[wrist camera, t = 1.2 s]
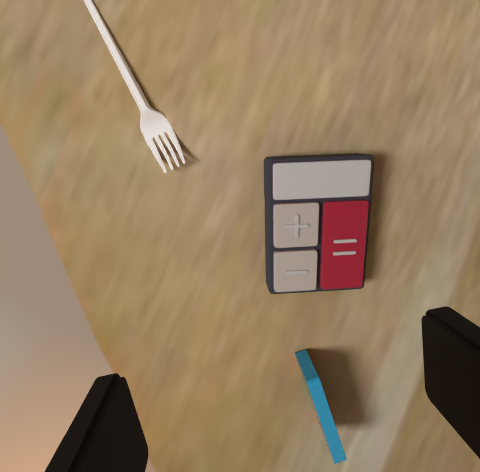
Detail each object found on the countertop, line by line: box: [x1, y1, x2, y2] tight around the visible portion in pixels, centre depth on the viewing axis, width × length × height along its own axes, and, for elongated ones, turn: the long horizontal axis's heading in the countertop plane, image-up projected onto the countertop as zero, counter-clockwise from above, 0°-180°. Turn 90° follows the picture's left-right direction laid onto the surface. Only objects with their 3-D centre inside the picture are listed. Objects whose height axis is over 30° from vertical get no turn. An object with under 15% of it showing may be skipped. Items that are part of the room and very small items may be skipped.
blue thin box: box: [295, 350, 347, 464], centre depth 40 cm, size 12×2×6 cm, turn 19°
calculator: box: [264, 154, 374, 294], centre depth 37 cm, size 11×4×15 cm
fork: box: [84, 0, 185, 173], centre depth 33 cm, size 3×20×2 cm, turn 26°
